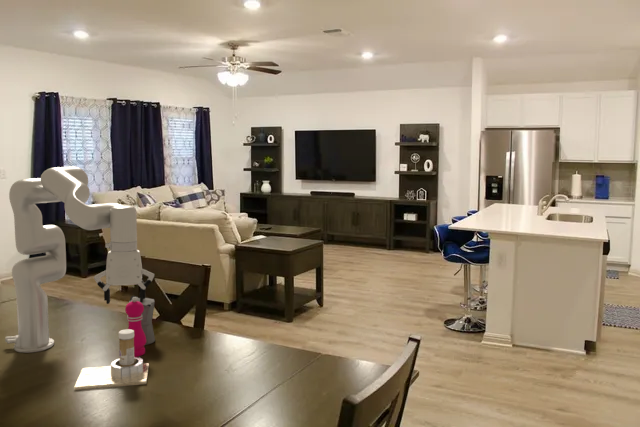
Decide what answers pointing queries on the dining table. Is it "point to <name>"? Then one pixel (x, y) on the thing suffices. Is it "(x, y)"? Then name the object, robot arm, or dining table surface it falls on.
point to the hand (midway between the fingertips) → (125, 301)
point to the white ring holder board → (113, 375)
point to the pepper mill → (136, 325)
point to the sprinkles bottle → (126, 347)
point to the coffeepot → (147, 319)
